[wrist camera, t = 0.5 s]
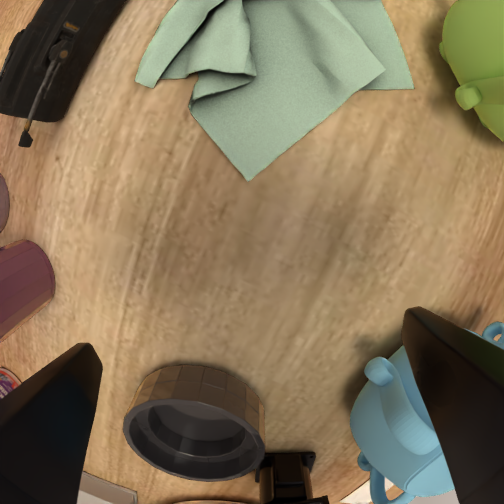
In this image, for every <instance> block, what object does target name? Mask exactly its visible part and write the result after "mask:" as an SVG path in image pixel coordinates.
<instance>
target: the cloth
mask: <svg viewBox="0 0 504 504" xmlns="http://www.w3.org/2000/svg"><path fill="white" fill-rule="evenodd" d="M197 71H198V77H199V79H198V81H197V82H196V84H195V86H194V89H193V92H192V95H191V99H190V102H189V105H188V107H189V110H190V112H191V115H192V116H193V117H194V118H195V120H196V121H197V122H198V123H199V124H200V125H201V127H202V128H203V129H204V130H205V131H206V133H207V134H208V135H209V136H210V137H211V139H212V140H213V141H214V142H215V143H216V144H217V146H218V147H219V148H220V149H221V150H222V152H223V153H224V154H225V155H226V156H227V158H228V159H229V160H230V161H231V163H232V164H233V165H234V166H235V167H236V168H237V169H238V170H239V171H240V172H241V174H242V175H243V176H244V177H245V179H246V180H247V181H248V182H249V181H250V180H251V179H252V178H253V177H255V176H256V175H257V174H258V173H259V172H261V171H262V170H263V169H265V168H266V167H267V166H268V165H269V164H270V163H272V162H273V161H274V160H275V159H276V158H278V157H279V156H280V155H281V154H282V153H284V152H285V151H286V150H287V149H288V148H290V147H291V146H292V145H293V144H295V143H296V142H297V141H299V140H300V139H301V138H302V137H303V136H305V135H306V134H307V133H308V132H309V131H310V130H312V129H313V128H314V127H315V126H316V125H318V124H319V123H320V122H322V121H323V120H324V119H326V118H327V117H328V116H329V115H330V114H332V113H333V112H334V111H335V110H336V109H337V108H339V107H340V106H341V105H342V104H343V103H344V102H345V101H346V100H347V99H348V98H349V97H350V96H351V95H353V94H354V93H355V92H356V91H358V90H395V89H415V88H414V84H413V81H412V77H411V74H410V71H409V67H408V64H407V61H406V58H405V55H404V52H403V49H402V47H401V44H400V42H399V39H398V36H397V34H396V31H395V29H394V27H393V24H392V22H391V20H390V18H389V16H388V14H387V12H386V10H385V8H384V6H383V4H382V2H381V0H177V1H176V3H175V4H174V6H173V7H172V8H171V9H170V10H169V12H168V13H167V14H166V15H165V17H164V18H163V20H162V21H161V23H160V25H159V27H158V28H157V30H156V32H155V35H154V37H153V39H152V40H151V42H150V44H149V45H148V47H147V49H146V51H145V53H144V55H143V57H142V59H141V62H140V65H139V68H138V71H137V74H136V77H135V82H138V83H140V84H142V85H144V86H147V87H150V88H154V86H155V84H156V82H157V80H158V79H182V78H186V77H187V76H188V75H189V74H190V73H193V72H197Z"/></svg>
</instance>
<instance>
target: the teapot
mask: <svg viewBox="0 0 504 504" xmlns="http://www.w3.org/2000/svg"><path fill="white" fill-rule="evenodd" d="M442 37H443V41H441V42H440V44H439V50H440V53H441V55H442V57H443V58H444V60H445V61H446V62H447V63H448V64H449V65H450V67H451V69H452V71H453V73H454V75H455V77H456V79H457V81H458V82H459V84H460V87H459V88H457V89H456V91H455V98H456V101H457V103H458V104H459V106H460V107H461V108H463V109H464V110H469V109H471V108H472V107H473V108H474V110H475V111H476V113H477V114H478V117H479V120H480V122H481V123H482V125H483V126H484V127H486V128H488V129H490V131H491V132H492V133H493V134H495V135H496V136H497V137H498V138H499V139H500V140H502V141H503V142H504V0H457V1H456V2H455V3H454V4H453V5H452V7H451V8H450V10H449V12H448V13H447V15H446V17H445V20H444V24H443V33H442Z"/></svg>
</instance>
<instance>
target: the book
mask: <svg viewBox="0 0 504 504" xmlns="http://www.w3.org/2000/svg"><path fill="white" fill-rule="evenodd" d="M77 504H138V503H137V492H136V491H133V490H130V489H127V488H124V487H122V486H119V485H116V484H113V483H111V482H108V481H105V480H103V479H100V478H98V477H95V476H93V475H91V474H88V473H86V472H84V471H82V477H81V482H80V488H79V494H78V501H77Z"/></svg>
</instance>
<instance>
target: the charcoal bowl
mask: <svg viewBox="0 0 504 504" xmlns="http://www.w3.org/2000/svg"><path fill="white" fill-rule="evenodd" d="M123 432H124V435H125V438H126V440H127V443H128V444H129V445H130V447H131V448H132V449H133V450H134V451H135V453H136V454H137V455H138V456H139V457H141V458H142V459H143V460H145V461H146V462H148V463H149V464H150V465H152V466H153V467H155V468H157V469H159V470H162V471H164V472H166V473H168V474H170V475H173V476H177V477H180V478H184V479H188V480H195V481H205V482H215V481H226V480H231V479H235V478H238V477H242V476H244V475H246V474H248V473H249V472H251V471H253V470H254V469H256V468H257V467H258V465H259V464H260V463H261V461H262V460H263V459H264V454H265V413H264V409H263V406H262V404H261V401H260V399H259V397H258V396H257V395H256V394H255V393H254V392H253V391H252V390H251V389H250V388H249V387H248V386H247V384H245V383H243V382H242V381H240V380H238V379H236V378H235V377H233V376H231V375H230V374H227V373H225V372H222V371H219V370H215V369H212V368H209V367H205V366H193V365H177V366H171V367H164V368H161V369H159V370H157V371H155V372H153V373H151V374H149V375H148V376H147V377H146V378H145V379H144V381H143V382H142V383H141V384H140V386H139V387H138V389H137V391H136V394H135V396H134V398H133V400H132V402H131V404H130V406H129V408H128V411H127V413H126V415H125V417H124V423H123Z"/></svg>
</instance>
